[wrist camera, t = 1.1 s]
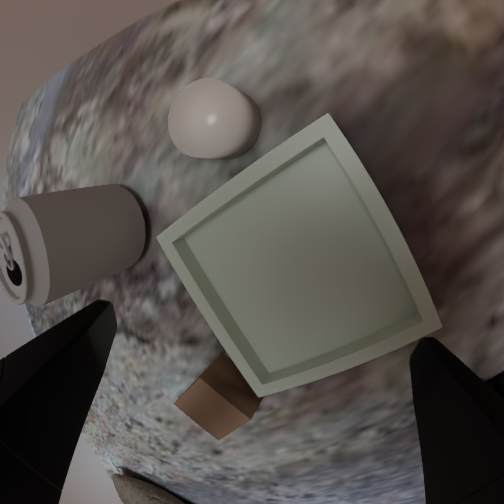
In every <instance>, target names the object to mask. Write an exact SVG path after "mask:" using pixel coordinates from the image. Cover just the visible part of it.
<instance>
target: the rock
mask: <svg viewBox="0 0 504 504" xmlns="http://www.w3.org/2000/svg"><path fill="white" fill-rule="evenodd" d="M112 478H113V482H114V485H115V488H116V490H117V492H118V495H119V497H120V499H121V501H122V502H123V503H124V504H186V503H184V502H183V501H181V500H180V499H178V498H176V497H175V496H173V495H172V494H170V493H169V492H167V491H165V490H163V489H161V488H160V487H158V486H155V485H153V484H150V483H148V482H144V481H141V480H138V479H135V478H131V477H128V476H125V475H120V474H116V473H115V474H113V476H112Z"/></svg>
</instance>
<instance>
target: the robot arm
mask: <svg viewBox="0 0 504 504" xmlns="http://www.w3.org/2000/svg"><path fill="white" fill-rule="evenodd" d="M116 330H117V321H116V316H115V312H114V307H113V304H112V303H111V302H110V301H106V300H101V299H99V300H96V301H95V302H93V303H91V304H90V305H88V306H86V307H84V308H83V309H81V310H79V311H78V312H76V313H74V314H73V315H71V316H70V317H68V318H66V319H65V320H63V321H61V322H60V323H58V324H56V325H55V326H53V327H52V328H50V329H48V330H47V331H45V332H43V333H42V334H40V335H39V336H37V337H35V338H34V339H32V340H31V341H29V342H28V343H26V344H24V345H23V346H21V347H20V348H18V349H16V350H15V351H14V352H12V353H10V354H9V355H7V356H6V358H5V357H4V358H2V359H1V360H0V504H59V500H60V497H61V493H62V489H63V486H64V482H65V479H66V476H67V473H68V469H69V466H70V463H71V460H72V457H73V454H74V451H75V448H76V445H77V442H78V439H79V436H80V434H81V431H82V428H83V425H84V423H85V420H86V417H87V415H88V412H89V409H90V407H91V404H92V401H93V399H94V396H95V394H96V391H97V389H98V386H99V384H100V381H101V379H102V376H103V373H104V370H105V367H106V363H107V360H108V356H109V353H110V350H111V346H112V343H113V340H114V337H115V334H116ZM409 363H410V372H411V382H412V392H413V402H414V410H415V416H416V421H417V428H418V434H419V441H420V448H421V456H422V464H423V474H424V484H425V497H426V504H504V372H503V373H502V374H500V375H498V376H496V377H495V378H493V379H491V380H489V381H487V382H484V381H483V380H482V379H480V378H479V377H478V376H477V375H476V374H475V373H474V372H473V371H472V370H471V369H470V368H468V367H467V366H466V365H465V364H464V363H463V362H462V361H461V360H460V359H458V358H457V357H456V356H455V355H454V354H453V353H452V352H451V351H449V350H448V349H447V348H446V347H445V346H444V345H443V344H441V343H440V342H439V341H438V340H437V339H436V338H434V337H423V338H421V339H420V341H419V342H418V344H417V346H416V347H415V349H414V351H413V352H412V354H411V356H410V361H409Z"/></svg>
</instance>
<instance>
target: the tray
mask: <svg viewBox="0 0 504 504" xmlns="http://www.w3.org/2000/svg"><path fill="white" fill-rule="evenodd" d="M156 238H157V240H158V242H159V244H160V245H161V247H162V249H163V251H164V252H165V254H166V256H167V257H168V259H169V261H170V263H171V264H172V266H173V268H174V269H175V271H176V273H177V274H178V276H179V278H180V279H181V281H182V283H183V284H184V286H185V288H186V289H187V291H188V293H189V294H190V296H191V297H192V299H193V301H194V302H195V304H196V305H197V307H198V309H199V310H200V312H201V313H202V315H203V317H204V318H205V320H206V321H207V323H208V324H209V326H210V327H211V329H212V331H213V332H214V334H215V335H216V337H217V338H218V340H219V341H220V343H221V344H222V346H223V347H224V349H225V350H226V352H227V353H228V355H229V356H230V358H231V359H232V361H233V362H234V363H235V365H236V366H237V368H238V369H239V371H240V372H241V374H242V375H243V376H244V378H245V379H246V381H247V382H248V384H249V385H250V386H251V388H252V389H253V391H254V392H255V393H256V395H257V396H258V398H259V397H263V396H266V395H270V394H273V393H277V392H280V391H284V390H287V389H291V388H294V387H297V386H300V385H303V384H307V383H310V382H313V381H316V380H319V379H322V378H325V377H327V376H330V375H333V374H336V373H339V372H341V371H344V370H347V369H350V368H352V367H355V366H357V365H360V364H363V363H365V362H368V361H370V360H372V359H375V358H377V357H380V356H382V355H384V354H387V353H389V352H391V351H394V350H396V349H398V348H401V347H403V346H405V345H407V344H409V343H411V342H414V341H416V340H418V339H420V338H422V337H424V336H426V335H428V334H430V333H432V332H434V331H436V330H438V329H440V328H442V324H441V321H440V319H439V316H438V313H437V311H436V308H435V306H434V303H433V301H432V299H431V296H430V294H429V291H428V289H427V287H426V284H425V282H424V280H423V278H422V275H421V273H420V271H419V269H418V267H417V264H416V262H415V260H414V258H413V256H412V254H411V252H410V250H409V248H408V246H407V244H406V241H405V239H404V238H403V236H402V234H401V232H400V230H399V228H398V226H397V224H396V222H395V220H394V218H393V216H392V214H391V213H390V211H389V209H388V207H387V205H386V204H385V202H384V200H383V198H382V196H381V195H380V193H379V191H378V189H377V188H376V186H375V184H374V183H373V181H372V179H371V178H370V176H369V174H368V173H367V171H366V169H365V168H364V166H363V164H362V163H361V161H360V160H359V158H358V156H357V155H356V153H355V152H354V150H353V149H352V147H351V146H350V144H349V143H348V141H347V139H346V138H345V136H344V135H343V134H342V132H341V131H340V129H339V128H338V126H337V125H336V123H335V122H334V120H333V119H332V118H331V116H330V115H329V113H327V114H326V115H324V116H323V117H321V118H319V119H318V120H316V121H315V122H313V123H312V124H310V125H309V126H307V127H306V128H304V129H303V130H301V131H299V132H298V133H296V134H295V135H293V136H292V137H290V138H289V139H288V140H286V141H285V142H283V143H282V144H280V145H279V146H277V147H276V148H274V149H273V150H271V151H270V152H269V153H267V154H266V155H264V156H263V157H261V158H260V159H258V160H257V161H256V162H254V163H253V164H251V165H250V166H249V167H247V168H246V169H244V170H243V171H242V172H240V173H239V174H237V175H236V176H235V177H233V178H232V179H231V180H229V181H228V182H227V183H225V184H224V185H222V186H221V187H220V188H218V189H217V190H216V191H214V192H213V193H212V194H210V195H209V196H208V197H206V198H205V199H204V200H203V201H201V202H200V203H199V204H197V205H196V206H195V207H193V208H192V209H191V210H190V211H188V212H187V213H186V214H184V215H183V216H182V217H181V218H179V219H178V220H177V221H175V222H174V223H173V224H172V225H170V226H169V227H168V228H167V229H165V230H164V231H163V232H162V233H161V234H159V235H158V236H157V237H156Z"/></svg>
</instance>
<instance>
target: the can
mask: <svg viewBox="0 0 504 504" xmlns="http://www.w3.org/2000/svg"><path fill="white" fill-rule="evenodd" d="M145 238H146V233H145V221H144V218H143V214H142V211H141V208H140V206H139V204H138V203H137V201H136V199H135V197H134V196H133V195H132V194H131V193H130V192H129V191H128V190H127V189H126V188H124V187H122V186H119V185H117V184H112V185H101V186H93V187H85V188H78V189H70V190H63V191H57V192H50V193H44V194H38V195H32V196H26V197H21V198H15V199H13V200H12V201H11V202H10V203H9V204H8V205H7V207H6V209H5V210H4V211H0V285H1V287H2V288H3V290H4V292H5V294H6V295H7V296H8V298H9V299H10V300H11V301H12V302H14V303H15V304H17V305H21V304H24V302H25V301H26V302H28V303H30V304H32V305H34V306H36V307H39V306H43V305H46V304H48V303H50V302H52V301H54V300H57V299H59V298H61V297H63V296H65V295H68V294H70V293H72V292H74V291H77V290H79V289H81V288H83V287H86V286H88V285H90V284H93V283H95V282H97V281H99V280H102V279H104V278H106V277H109V276H111V275H113V274H116V273H118V272H120V271H123V270H125V269H127V268H130V267H132V266H133V265H134V264H135V263H136V262H137V261H138V260H139V258H140V256H141V254H142V252H143V250H144V244H145Z"/></svg>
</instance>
